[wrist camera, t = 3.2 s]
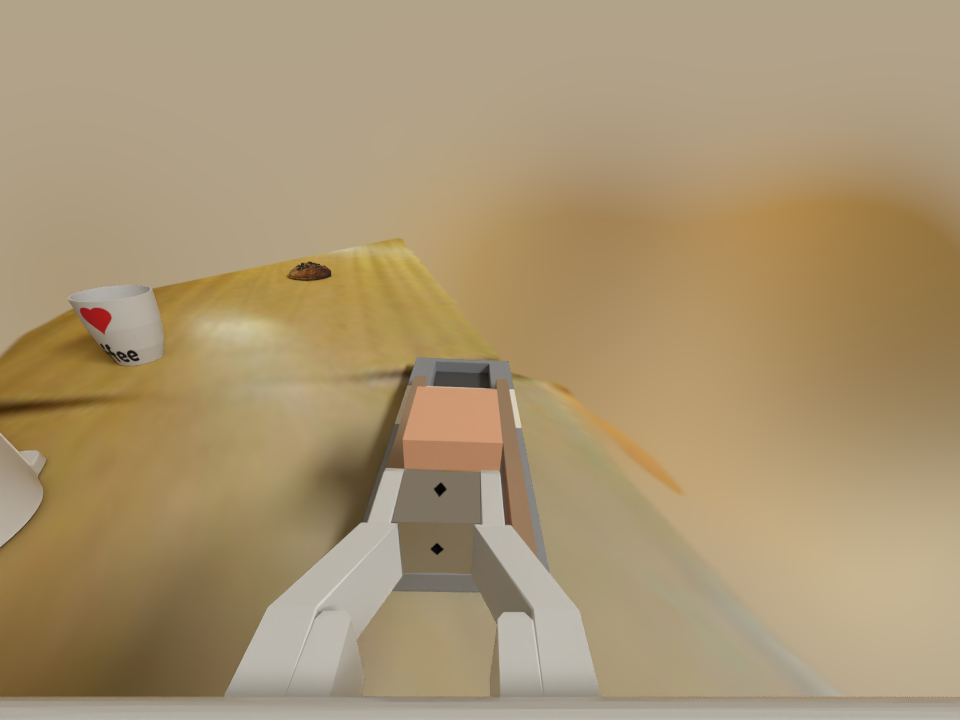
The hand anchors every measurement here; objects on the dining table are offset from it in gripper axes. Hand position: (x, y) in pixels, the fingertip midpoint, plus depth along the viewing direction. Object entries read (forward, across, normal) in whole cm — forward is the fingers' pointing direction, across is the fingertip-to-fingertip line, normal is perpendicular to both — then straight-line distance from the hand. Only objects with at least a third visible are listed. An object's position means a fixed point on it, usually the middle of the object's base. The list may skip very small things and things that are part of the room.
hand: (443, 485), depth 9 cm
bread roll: (+91, +46, +18) cm, 103 cm away
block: (+12, 0, +16) cm, 21 cm away
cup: (+39, +48, +18) cm, 65 cm away
